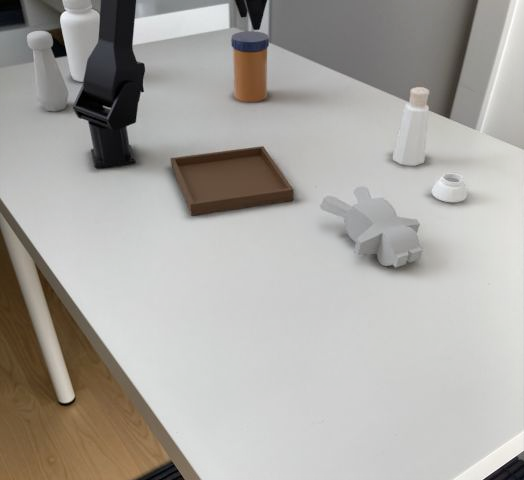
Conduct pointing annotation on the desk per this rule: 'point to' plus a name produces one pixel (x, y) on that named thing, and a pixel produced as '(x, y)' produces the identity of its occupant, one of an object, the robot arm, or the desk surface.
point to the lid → (250, 41)
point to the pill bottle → (79, 34)
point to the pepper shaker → (413, 130)
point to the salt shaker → (47, 72)
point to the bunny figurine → (377, 228)
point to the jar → (250, 75)
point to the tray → (230, 180)
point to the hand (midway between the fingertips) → (249, 23)
